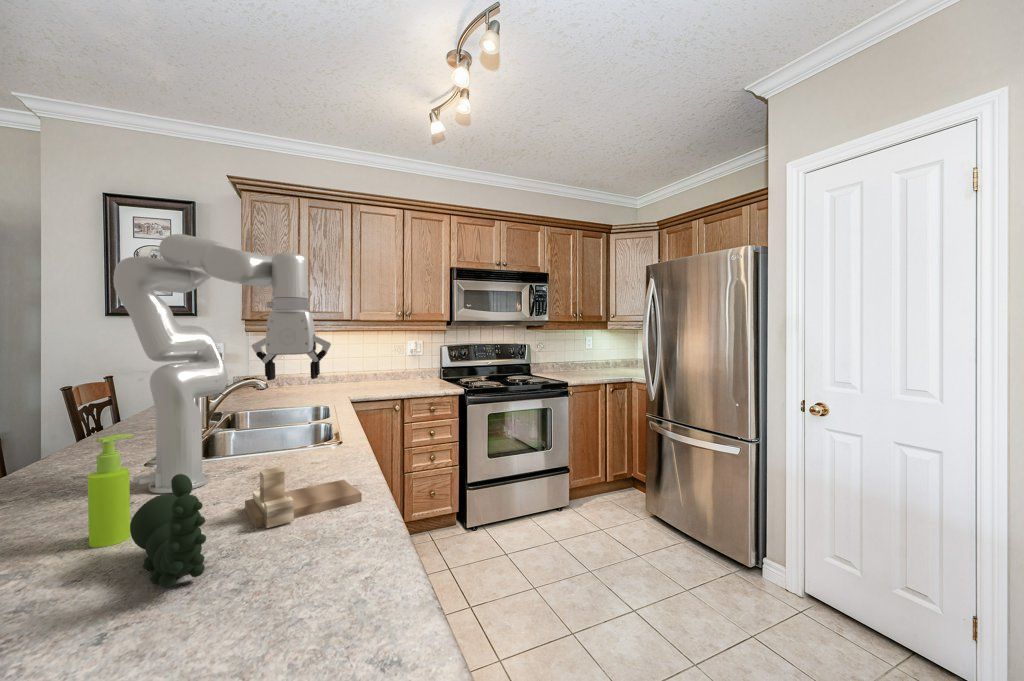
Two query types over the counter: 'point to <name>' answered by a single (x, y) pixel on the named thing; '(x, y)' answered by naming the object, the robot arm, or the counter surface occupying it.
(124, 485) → the soap dispenser
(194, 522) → the toy figurine
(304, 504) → the walnut board
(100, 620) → the counter surface
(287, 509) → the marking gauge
